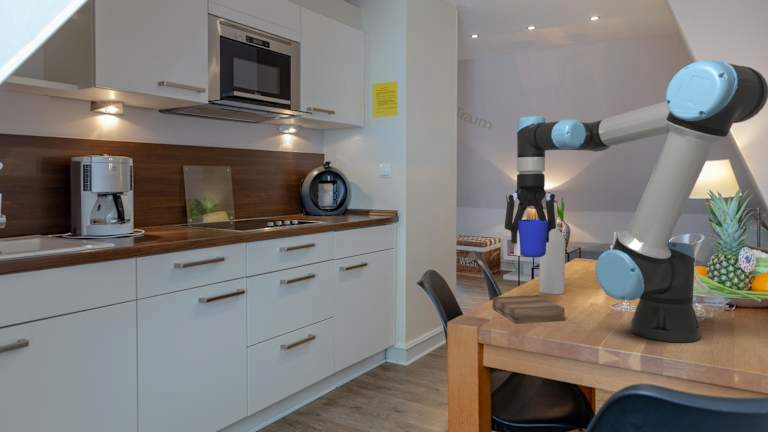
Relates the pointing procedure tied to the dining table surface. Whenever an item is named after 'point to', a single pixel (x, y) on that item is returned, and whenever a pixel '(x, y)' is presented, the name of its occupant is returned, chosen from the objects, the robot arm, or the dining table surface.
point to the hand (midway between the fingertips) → (529, 254)
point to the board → (528, 309)
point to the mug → (533, 237)
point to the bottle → (553, 263)
